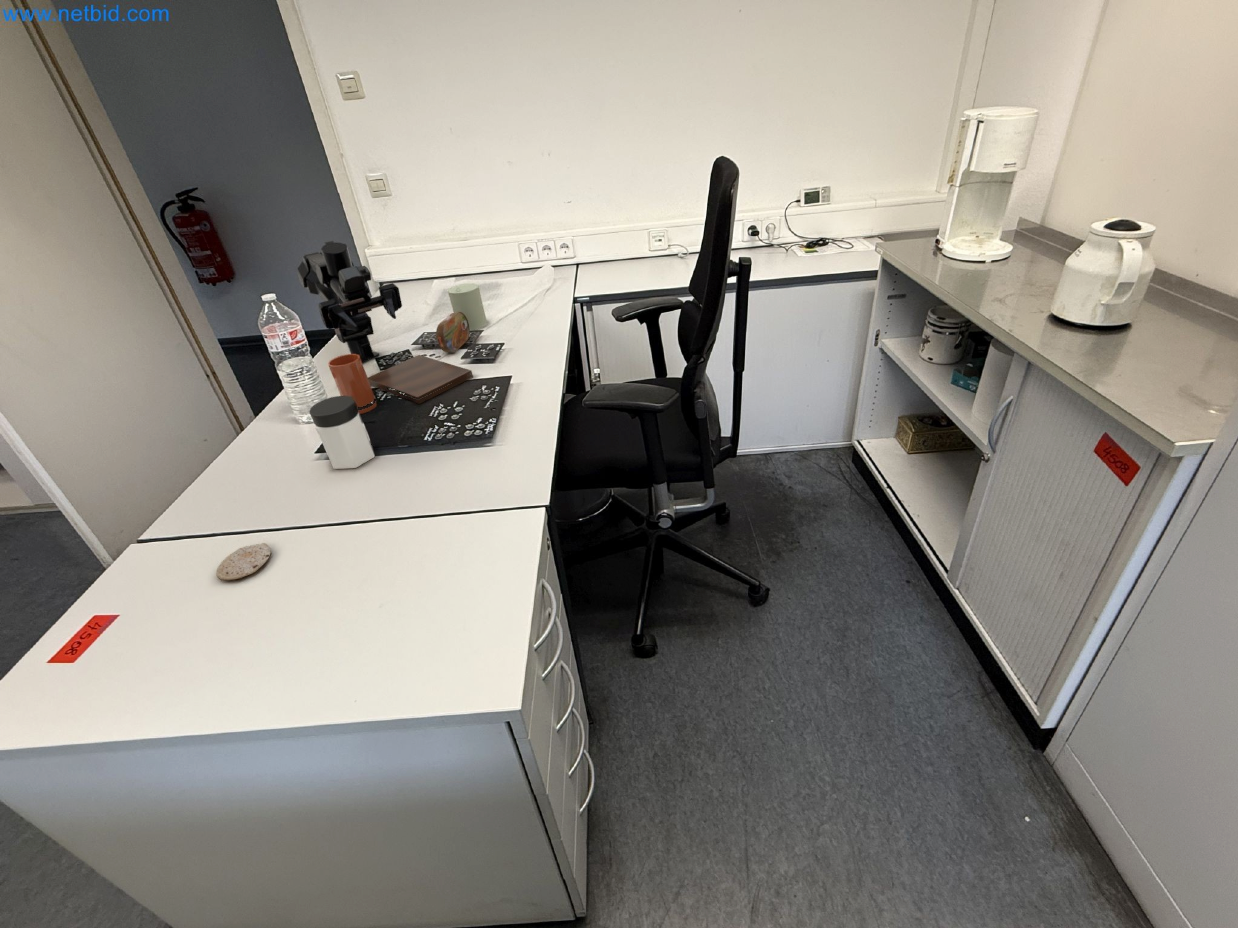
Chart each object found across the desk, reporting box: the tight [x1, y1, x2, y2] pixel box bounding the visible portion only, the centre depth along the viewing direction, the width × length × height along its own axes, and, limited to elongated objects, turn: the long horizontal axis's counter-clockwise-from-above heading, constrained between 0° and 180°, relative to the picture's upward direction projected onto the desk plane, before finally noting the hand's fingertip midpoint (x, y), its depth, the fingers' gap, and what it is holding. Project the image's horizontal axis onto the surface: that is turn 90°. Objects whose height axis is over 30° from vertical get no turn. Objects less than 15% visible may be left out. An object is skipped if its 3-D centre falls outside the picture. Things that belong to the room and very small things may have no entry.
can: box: [447, 282, 488, 332], centre depth 173 cm, size 9×9×12 cm
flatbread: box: [215, 542, 272, 581], centre depth 92 cm, size 8×8×1 cm
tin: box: [435, 312, 471, 353], centre depth 161 cm, size 15×3×8 cm, turn 168°
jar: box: [309, 395, 376, 470], centre depth 113 cm, size 9×8×12 cm
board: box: [367, 354, 474, 405], centre depth 145 cm, size 22×16×2 cm
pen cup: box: [327, 353, 378, 415], centre depth 132 cm, size 7×7×12 cm
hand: (376, 322), depth 136 cm, fingers open, 9 cm apart
